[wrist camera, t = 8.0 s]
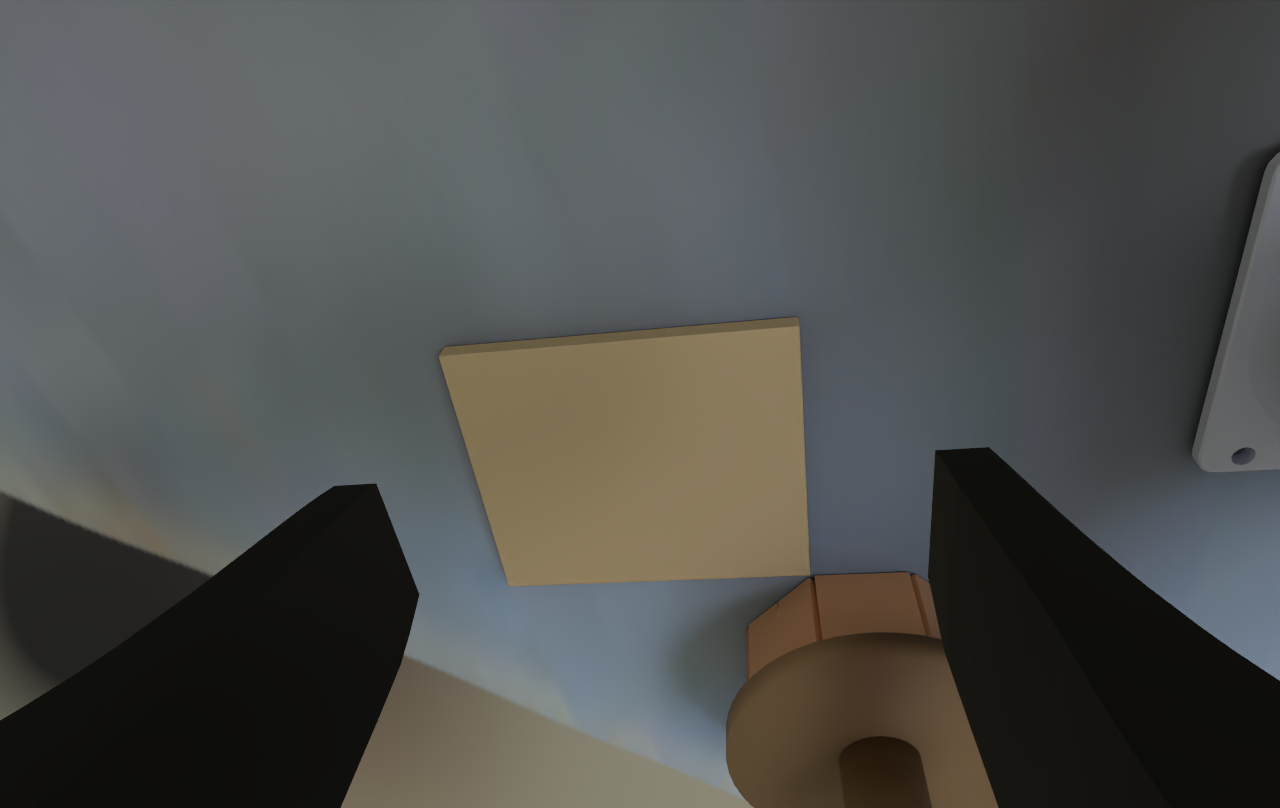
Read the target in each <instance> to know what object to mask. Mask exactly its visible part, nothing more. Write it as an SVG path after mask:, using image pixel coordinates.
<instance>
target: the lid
mask: <svg viewBox="0 0 1280 808" xmlns="http://www.w3.org/2000/svg"><path fill="white" fill-rule="evenodd" d="M726 760H727V766H728V770H729V774H730V776H731V778H732V780H733V783H734V785H735V786H736V788H737V789H738V791H739V792H740V793H741V795H742V796H743V797H744V798H745V799H746V800H747V801H748V802H749V804H750V805H751V806H753V807H754V808H998V805H997V802H996V799H995V796H994V793H993V790H992V788H991V785H990V782H989V779H988V776H987V773H986V770H985V768H984V765H983V762H982V759H981V756H980V753H979V750H978V748H977V745H976V742H975V739H974V736H973V733H972V730H971V728H970V725H969V722H968V719H967V716H966V713H965V710H964V708H963V705H962V702H961V699H960V696H959V693H958V690H957V687H956V684H955V681H954V678H953V676H952V673H951V670H950V667H949V664H948V661H947V658H946V655H945V652H944V648H943V643H942V639H938V638H933V637H928V636H924V635H916V634H908V633H893V632H873V633H858V634H851V635H844V636H838V637H833V638H829V639H825V640H821V641H817V642H813V643H811V644H808V645H805V646H802V647H800V648H797V649H794V650H792V651H790V652H788V653H786V654H784V655H782V656H780V657H778V658H776V659H775V660H773V661H772V662H770V663H769V664H767V665H765V666H764V667H763V668H761V669H760V670H759V671H758V672H757V673H755V674H754V675H753V676H752V677H751V678H750V679H749V680H748V681H747V682H746V683H745V685H744V686H743V687H742V688H741V689H740V691H739V692H738V694H737V696H736V697H735V699H734V700H733V703H732V705H731V708H730V710H729V713H728V718H727V724H726Z"/></svg>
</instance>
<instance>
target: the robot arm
mask: <svg viewBox="0 0 1280 808" xmlns="http://www.w3.org/2000/svg"><path fill="white" fill-rule="evenodd" d="M1245 447H1246V448H1245ZM1241 448H1245V450H1244V451H1243V452H1241V453H1240V454H1237V455H1233V454H1234V452H1236V451H1237V450H1239V449H1241ZM1232 455H1233V456H1232ZM1192 457H1193V459H1194V460H1195V462H1196V463H1197V464H1198V465H1199V467H1200V468H1201V469H1203V470H1205V471H1207V472H1214V473H1218V472H1237V471H1256V470H1275V469H1280V152H1279V153H1278V154H1276V155H1275V156H1274V158H1273V159H1272V160H1271V161H1270V162H1269V163H1268V165H1267V168H1266V170H1265V172H1264V175H1263V179H1262V183H1261V187H1260V191H1259V195H1258V198H1257V202H1256V206H1255V210H1254V214H1253V218H1252V222H1251V225H1250V229H1249V233H1248V237H1247V241H1246V245H1245V249H1244V252H1243V256H1242V260H1241V264H1240V268H1239V272H1238V275H1237V279H1236V283H1235V287H1234V291H1233V295H1232V299H1231V302H1230V306H1229V310H1228V314H1227V318H1226V322H1225V326H1224V329H1223V333H1222V337H1221V341H1220V345H1219V349H1218V352H1217V356H1216V360H1215V364H1214V368H1213V372H1212V376H1211V379H1210V383H1209V387H1208V391H1207V395H1206V399H1205V403H1204V406H1203V410H1202V414H1201V418H1200V422H1199V426H1198V429H1197V433H1196V437H1195V441H1194V445H1193V449H1192ZM928 578H929V583H930V588H931V593H932V597H933V602H934V607H935V612H936V617H937V621H938V626H939V630H940V634H941V639H942V643H943V648H944V652H945V655H946V658H947V661H948V664H949V667H950V670H951V673H952V676H953V678H954V681H955V684H956V687H957V690H958V693H959V696H960V699H961V702H962V705H963V708H964V710H965V713H966V716H967V719H968V722H969V725H970V728H971V730H972V733H973V736H974V739H975V742H976V745H977V748H978V750H979V753H980V756H981V759H982V762H983V765H984V768H985V770H986V773H987V776H988V779H989V782H990V785H991V788H992V790H993V793H994V796H995V799H996V802H997V805H998V808H1280V681H1279V680H1277V679H1276V678H1274V677H1273V676H1271V675H1270V674H1268V673H1267V672H1265V671H1264V670H1262V669H1261V668H1259V667H1258V666H1256V665H1255V664H1253V663H1252V662H1250V661H1249V660H1247V659H1246V658H1244V657H1243V656H1241V655H1240V654H1238V653H1237V652H1235V651H1234V650H1232V649H1231V648H1230V647H1228V646H1227V645H1225V644H1224V643H1222V642H1221V641H1220V640H1218V639H1217V638H1215V637H1214V636H1213V635H1211V634H1210V633H1208V632H1207V631H1205V630H1204V629H1203V628H1201V627H1200V626H1199V625H1197V624H1196V623H1195V622H1193V621H1192V620H1191V619H1189V618H1188V617H1187V616H1185V615H1184V614H1183V613H1181V612H1180V611H1179V610H1177V609H1176V608H1175V607H1174V606H1172V605H1171V604H1170V603H1168V602H1167V601H1166V600H1164V599H1163V598H1162V597H1160V596H1159V595H1158V594H1156V593H1155V592H1154V591H1152V590H1151V589H1150V588H1148V587H1147V586H1146V585H1145V584H1143V583H1142V582H1141V581H1140V580H1138V579H1137V578H1136V577H1135V576H1133V575H1132V574H1131V573H1130V572H1128V571H1127V570H1126V569H1125V568H1124V567H1123V566H1121V565H1120V564H1119V563H1118V562H1117V561H1116V560H1114V559H1113V558H1112V557H1111V556H1110V555H1108V554H1107V553H1106V552H1105V551H1104V550H1103V549H1101V548H1100V547H1099V546H1098V545H1097V544H1095V543H1094V542H1093V541H1092V540H1091V539H1090V538H1088V537H1087V536H1086V535H1085V534H1084V533H1083V532H1081V531H1080V530H1079V529H1078V528H1077V527H1076V526H1075V525H1073V524H1072V523H1071V522H1070V521H1069V520H1068V519H1067V518H1066V517H1064V516H1063V515H1062V514H1061V513H1060V512H1059V511H1058V510H1057V509H1056V508H1055V507H1053V506H1052V505H1051V504H1050V503H1049V502H1048V501H1047V500H1046V499H1045V498H1044V497H1042V496H1041V495H1040V494H1039V493H1038V492H1037V491H1036V490H1035V489H1034V488H1033V487H1032V486H1031V485H1029V484H1028V483H1027V482H1026V481H1025V480H1024V479H1023V478H1022V477H1021V476H1020V475H1019V474H1018V473H1017V472H1015V471H1014V470H1013V469H1012V468H1011V467H1010V466H1009V465H1008V464H1007V463H1006V462H1005V461H1004V460H1002V459H1001V458H1000V457H999V456H998V455H997V454H996V453H995V452H993V451H992V450H991V449H990V448H989V447H987V448H970V449H953V450H936V451H935V468H934V484H933V501H932V518H931V535H930V552H929V569H928ZM418 598H419V593H418V590H417V587H416V585H415V582H414V580H413V577H412V575H411V572H410V569H409V567H408V564H407V562H406V559H405V556H404V554H403V551H402V549H401V546H400V544H399V541H398V538H397V536H396V533H395V531H394V528H393V526H392V523H391V520H390V518H389V515H388V513H387V510H386V508H385V505H384V502H383V500H382V497H381V495H380V492H379V489H378V487H377V484H361V485H344V486H334V487H332V488H331V489H329V490H328V491H326V492H324V493H323V494H321V495H320V496H318V497H317V498H316V499H314V500H313V501H311V502H310V503H309V504H307V505H306V506H304V507H303V508H302V509H300V510H299V511H298V512H296V513H295V514H294V515H292V516H291V517H290V518H288V519H287V520H286V521H284V522H283V523H282V524H280V525H279V526H278V527H277V528H275V529H274V530H273V531H271V532H270V533H269V534H268V535H266V536H265V537H264V538H262V539H261V540H260V541H258V542H257V543H256V544H255V545H253V546H252V547H251V548H249V549H248V550H247V551H246V552H244V553H243V554H242V555H240V556H239V557H238V558H236V559H235V560H234V561H233V562H231V563H230V564H229V565H227V566H226V567H225V568H223V569H222V570H221V571H220V572H218V573H217V574H216V575H214V576H213V577H212V578H210V579H209V580H208V581H207V582H205V583H204V584H203V585H201V586H200V587H199V588H197V589H196V590H195V591H193V592H192V593H191V594H190V595H188V596H186V597H185V598H184V599H182V600H181V601H179V602H178V603H177V604H175V605H174V606H173V607H171V608H170V609H169V610H167V611H166V612H164V613H163V614H161V615H160V616H159V617H157V618H156V619H155V620H153V621H152V622H150V623H149V624H148V625H146V626H145V627H143V628H142V629H141V630H140V631H138V632H137V633H135V634H134V635H132V636H131V637H130V638H128V639H127V640H125V641H124V642H123V643H121V644H120V645H118V646H117V647H116V648H114V649H113V650H111V651H110V652H108V653H107V654H105V655H104V656H102V657H101V658H100V659H98V660H96V661H95V662H93V663H92V664H90V665H89V666H87V667H86V668H84V669H83V670H81V671H80V672H78V673H76V674H75V675H73V676H72V677H70V678H69V679H67V680H66V681H64V682H63V683H61V684H59V685H58V686H56V687H54V688H53V689H51V690H50V691H48V692H46V693H45V694H43V695H42V696H40V697H38V698H37V699H35V700H33V701H32V702H30V703H29V704H27V705H25V706H24V707H22V708H21V709H19V710H17V711H16V712H14V713H12V714H11V715H9V716H7V717H6V718H4V719H2V720H0V808H341V805H342V803H343V801H344V798H345V796H346V794H347V791H348V789H349V786H350V784H351V782H352V779H353V777H354V774H355V772H356V770H357V768H358V765H359V763H360V761H361V758H362V756H363V754H364V751H365V749H366V747H367V744H368V742H369V740H370V737H371V735H372V732H373V730H374V728H375V725H376V723H377V721H378V718H379V716H380V713H381V711H382V709H383V706H384V704H385V701H386V698H387V697H388V694H389V692H390V689H391V687H392V685H393V682H394V680H395V677H396V675H397V672H398V669H399V667H400V665H401V662H402V658H403V655H404V651H405V648H406V644H407V641H408V637H409V634H410V630H411V626H412V622H413V618H414V614H415V610H416V606H417V602H418Z"/></svg>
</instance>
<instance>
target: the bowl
mask: <svg viewBox="0 0 1280 808" xmlns="http://www.w3.org/2000/svg"><path fill="white" fill-rule="evenodd" d="M814 578H815V581H813V580H812V579H810V578H807V579H806V580H805V581H804V582H802V583H801V584H800V585H799V586H797V587H796V588H795V589H793V590H792V591H791V592H790V593H788V594H787V595H786V596H785V597H783V598H782V599H781V600H779V601H778V602H777V603H776V604H774V605H773V606H772V607H770V608H769V609H768V610H767V611H765V612H764V613H763V614H762V615H760V616H759V617H758V618H756V619H755V620H754V621H753V622H751V623H750V624H749V625H748V628H749V629H746V630H747V672H748V680H749V679H750V678H751V677H752V676H753V675H754V674H755V673H757V672H758V671H759V670H760V669H761V668H763V667H764V666H765V665H767V664H769V663H770V662H772V661H773V660H775V659H776V658H778V657H780V656H782V655H784V654H786V653H788V652H790V651H792V650H794V649H797V648H800V647H802V646H805V645H808V644H811V643H813V642H817V641H821V640H825V639H829V638H833V637H838V636H844V635H851V634H858V633H873V632H893V633H908V634H916V635H924V636H928V637H933V638H938V639H941V634H940V630H939V626H938V621H937V617H936V612H935V607H934V602H933V597H932V593H931V588H930V584H929V583H928V582H926V581H925V580H924V579H922V578H921V577H919V576H918V575H916V574H914V575H912V576H911V577H910V573H909V572H895V573H868V574H842V575H815V576H814Z"/></svg>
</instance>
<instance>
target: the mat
mask: <svg viewBox="0 0 1280 808" xmlns="http://www.w3.org/2000/svg"><path fill="white" fill-rule="evenodd" d="M439 359H440V363H441V366H442V369H443V373H444V376H445V379H446V382H447V386H448V389H449V392H450V395H451V399H452V402H453V405H454V408H455V412H456V415H457V418H458V421H459V425H460V428H461V431H462V434H463V438H464V441H465V444H466V448H467V451H468V454H469V457H470V461H471V464H472V467H473V470H474V474H475V477H476V480H477V483H478V487H479V490H480V493H481V496H482V500H483V503H484V506H485V509H486V513H487V516H488V519H489V523H490V526H491V529H492V532H493V536H494V539H495V542H496V545H497V549H498V552H499V555H500V558H501V562H502V565H503V568H504V571H505V575H506V578H507V581H508V584H509V586H536V585H563V584H589V583H616V582H643V581H670V580H696V579H723V578H750V577H776V576H803V575H810V560H809V537H808V514H807V491H806V467H805V444H804V421H803V398H802V374H801V351H800V328H799V320H798V317H790V318H778V319H766V320H755V321H743V322H731V323H719V324H708V325H696V326H684V327H673V328H661V329H649V330H638V331H626V332H614V333H603V334H591V335H579V336H567V337H556V338H544V339H532V340H521V341H509V342H497V343H486V344H474V345H462V346H450V347H444V348H443V350H442V352H441V353H440V355H439Z"/></svg>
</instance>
